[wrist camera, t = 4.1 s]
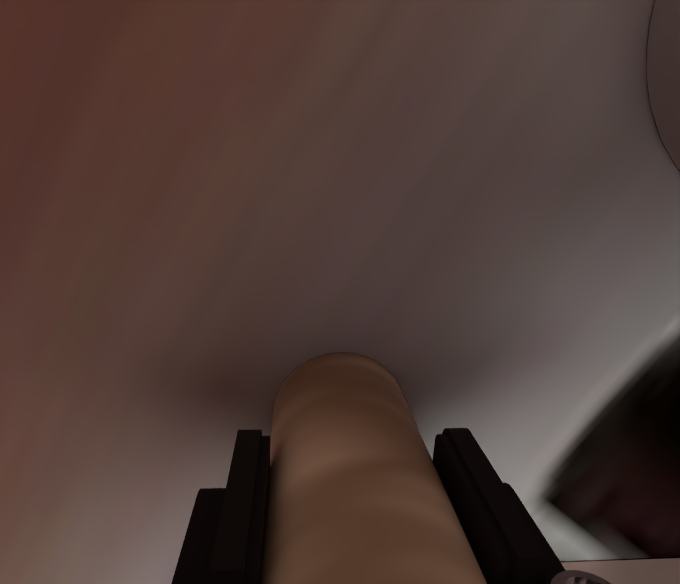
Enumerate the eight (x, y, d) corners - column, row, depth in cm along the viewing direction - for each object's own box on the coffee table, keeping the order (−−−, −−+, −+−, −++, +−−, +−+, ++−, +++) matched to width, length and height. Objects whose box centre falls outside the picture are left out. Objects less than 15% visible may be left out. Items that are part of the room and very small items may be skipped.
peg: (409, 353, 14) (648, 769, 5) (398, 468, 15) (572, 1000, 6) (273, 351, 14) (223, 804, 4) (272, 470, 15) (230, 1045, 5)
